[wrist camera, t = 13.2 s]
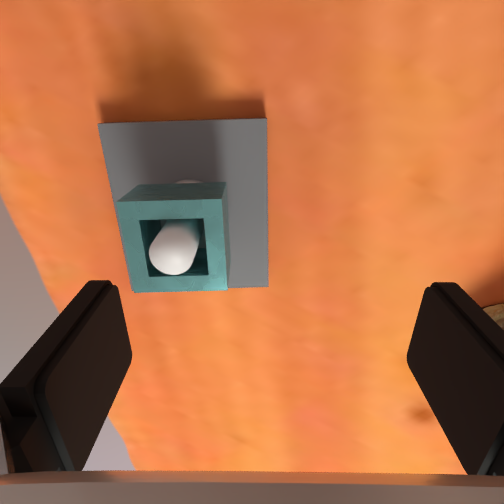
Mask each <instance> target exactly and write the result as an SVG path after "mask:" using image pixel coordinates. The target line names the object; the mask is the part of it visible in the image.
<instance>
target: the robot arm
mask: <svg viewBox="0 0 504 504" xmlns="http://www.w3.org/2000/svg"><path fill="white" fill-rule="evenodd" d="M131 360H132V350H131V346H130V341H129V336H128V332H127V327H126V322H125V318H124V313H123V309H122V304H121V299H120V295H119V290H118V287H117V286H116V285H112V283H111V281H109V280H91V281H88V282H87V283H86V284H85V286H84V287H83V288H82V289H81V290H80V291H79V293H78V294H77V295H76V296H75V297H74V298H73V300H72V301H71V302H70V303H69V304H68V305H67V307H66V308H65V309H64V310H63V311H62V312H61V314H60V315H59V316H58V317H57V318H56V320H55V321H54V322H53V323H52V324H51V325H50V327H49V328H48V329H47V330H46V331H45V333H44V334H43V335H42V336H41V337H40V338H39V339H38V341H37V342H36V343H35V344H34V345H33V347H32V348H31V349H30V350H29V351H28V352H27V353H26V355H25V356H24V357H23V358H22V359H21V360H20V362H19V363H18V364H17V365H16V366H15V367H14V369H13V370H12V371H11V372H10V373H9V375H8V376H7V377H6V378H5V379H4V380H3V382H2V383H1V384H0V504H504V330H503V329H502V328H501V327H500V326H499V325H498V324H497V323H496V322H495V321H494V320H493V319H492V318H491V317H490V316H489V315H488V314H487V313H486V312H485V311H484V310H483V309H482V308H481V307H480V306H479V305H478V304H477V303H476V302H475V301H474V300H473V299H472V298H471V297H470V296H469V295H468V294H467V293H466V292H465V291H464V290H463V289H462V288H461V287H460V286H459V285H458V284H456V283H453V282H434V283H432V285H431V286H430V287H427V288H426V289H425V291H424V294H423V298H422V302H421V305H420V309H419V313H418V316H417V320H416V323H415V327H414V331H413V334H412V338H411V341H410V345H409V349H408V352H407V363H408V366H409V368H410V370H411V372H412V373H413V375H414V377H415V379H416V381H417V383H418V385H419V386H420V388H421V390H422V392H423V394H424V396H425V398H426V399H427V401H428V403H429V405H430V407H431V409H432V410H433V412H434V414H435V416H436V418H437V420H438V422H439V423H440V425H441V427H442V429H443V431H444V433H445V435H446V436H447V438H448V440H449V442H450V444H451V446H452V447H453V449H454V451H455V453H456V455H457V457H458V459H459V460H460V462H461V464H462V466H463V468H464V470H465V471H466V473H467V474H468V475H453V474H396V473H332V472H248V471H82V469H83V468H84V466H85V463H86V461H87V459H88V457H89V455H90V452H91V450H92V448H93V446H94V443H95V441H96V439H97V437H98V435H99V433H100V430H101V428H102V426H103V423H104V421H105V419H106V417H107V415H108V413H109V410H110V408H111V406H112V404H113V401H114V399H115V397H116V395H117V393H118V390H119V388H120V386H121V384H122V382H123V379H124V377H125V375H126V373H127V370H128V368H129V366H130V364H131Z"/></svg>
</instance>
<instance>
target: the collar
mask: <svg viewBox="0 0 504 504" xmlns="http://www.w3.org/2000/svg"><path fill="white" fill-rule="evenodd" d="M116 205H117V210H118V215H119V220H120V225H121V230H122V235H123V239H124V244H125V249H126V254H127V259H128V264H129V269H130V274H131V279H132V284H133V289H134V293H141V292H180V291H218V290H228V282H229V273H230V265H231V254H230V236H229V219H228V202H227V184H226V182H211V183H174V184H139V185H137V186H136V187H135V188H133V189H132V190H131V191H130V192H128V193H127V194H126V195H124V196H123V197H122V198H120V199H119V200H118V201H116ZM194 218H204V227H205V238H206V248H197V251H196V254H195V257H194V260H193V262H192V265H191V266H190V268H189V269H188V270H187V271H185V272H183V273H181V274H177V275H170V274H165V273H163V272H161V271H159V270H158V269H157V268H155V266H154V265H153V264H152V262H151V260H150V257H149V249H150V246H151V244H152V242H153V241H154V239H155V238H156V236H157V235H158V233H159V232H160V231H161V229H162V228H161V221H160V219H194Z"/></svg>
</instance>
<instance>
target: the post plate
mask: <svg viewBox="0 0 504 504" xmlns="http://www.w3.org/2000/svg"><path fill="white" fill-rule="evenodd" d="M98 129H99V134H100V139H101V144H102V149H103V153H104V158H105V163H106V168H107V173H108V178H109V182H110V187H111V192H112V197H113V202H114V207H115V211H116V216H117V221H118V226H119V231H120V236H121V240H122V245H123V250H124V255H125V260H126V265H127V269H128V274H129V279H130V284H131V289H132V291H134V289H133V284H132V279H131V274H130V269H129V264H128V259H127V254H126V249H125V244H124V239H123V235H122V230H121V225H120V220H119V215H118V210H117V205H116V201H118V200H119V199H120V198H122V197H123V196H124V195H126V194H127V193H128V192H130V191H131V190H132V189H133V188H135V187H136V186H137V185H139V184H174V183H211V182H226V184H227V202H228V219H229V236H230V254H231V265H230V273H229V282H228V288H245V287H268V184H267V118H241V119H209V120H177V121H144V122H112V123H100V124H98ZM160 221H161V228H162V229H161V231H160V232H159V233H158V235H157V236H156V238H155V239H154V241H153V242H152V244H151V246H150V249H149V257H150V260H151V262H152V264H153V265H154V266H155V268H157V269H158V270H159V271H161V272H163V273H165V274H170V275H177V274H181V273H183V272H185V271H187V270H188V269H189V268H190V266H191V265H192V262H193V260H194V257H195V254H196V251H197V248H206V238H205V227H204V218H194V219H160Z"/></svg>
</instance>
